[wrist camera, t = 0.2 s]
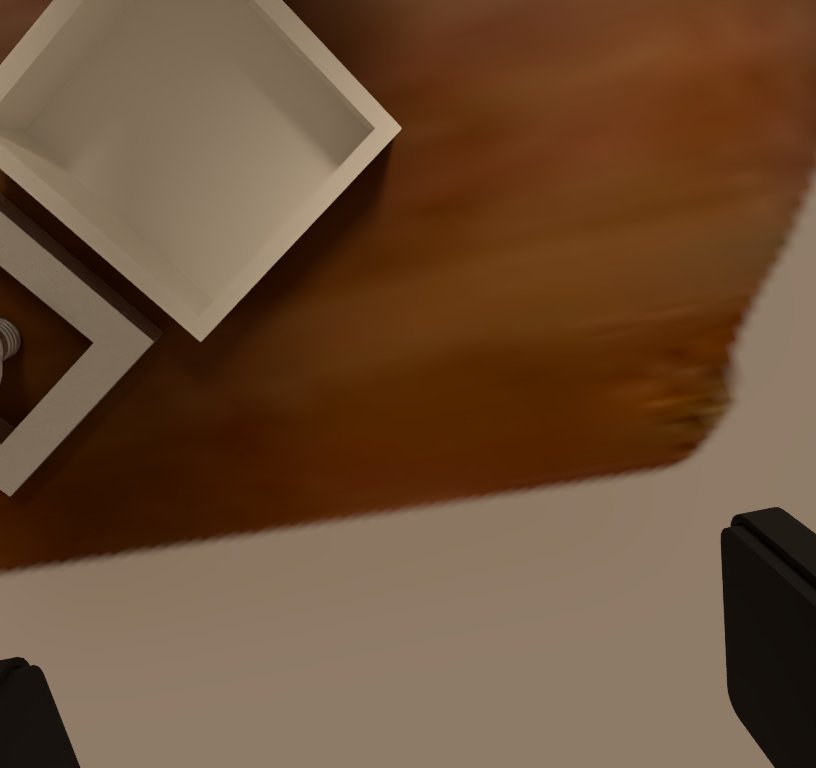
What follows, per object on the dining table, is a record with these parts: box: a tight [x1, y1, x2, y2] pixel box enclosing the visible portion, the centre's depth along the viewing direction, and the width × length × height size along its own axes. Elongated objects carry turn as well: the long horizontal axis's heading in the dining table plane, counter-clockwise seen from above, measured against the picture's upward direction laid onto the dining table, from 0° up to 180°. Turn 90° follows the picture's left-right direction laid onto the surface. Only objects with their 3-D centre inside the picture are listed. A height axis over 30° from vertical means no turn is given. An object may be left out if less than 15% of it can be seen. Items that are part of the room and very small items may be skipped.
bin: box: [0, 0, 402, 342], centre depth 39 cm, size 16×16×6 cm
